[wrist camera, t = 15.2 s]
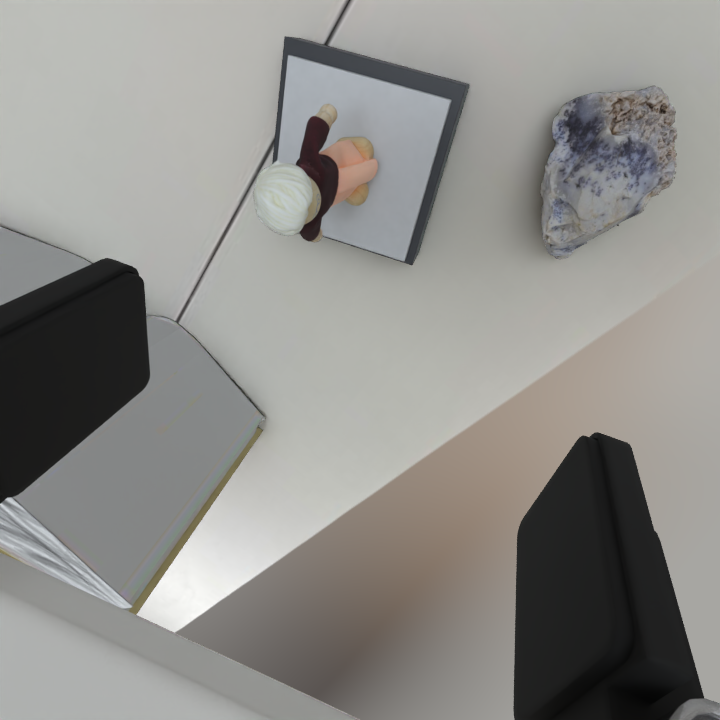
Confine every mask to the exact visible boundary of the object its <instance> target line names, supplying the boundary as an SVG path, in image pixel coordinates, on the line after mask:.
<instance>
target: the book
mask: <svg viewBox="0 0 720 720" xmlns="http://www.w3.org/2000/svg"><path fill="white" fill-rule="evenodd" d="M91 264H93V263H91V262H89V261H87V260H86V259H84V258H82V257H79V256H77V255H75V254H72V253H70V252H67V251H65V250H62V249H60V248H57V247H54V246H52V245H49V244H46V243H43V242H41V241H38V240H35V239H33V238H30V237H27V236H25V235H22V234H19V233H17V232H14V231H11V230H9V229H6V228H4V227H1V226H0V305H3V304H5V303H7V302H9V301H11V300H14V299H16V298H18V297H20V296H22V295H25V294H27V293H29V292H31V291H33V290H36V289H38V288H40V287H42V286H44V285H47V284H49V283H51V282H53V281H55V280H58V279H60V278H62V277H64V276H66V275H69V274H71V273H73V272H75V271H77V270H80V269H82V268H84V267H86V266H88V265H91ZM146 320H147V335H148V349H149V364H150V379H149V382H148V384H147V386H146V387H145V389H144V390H143V391H141V392H140V393H139V394H138V395H137V396H136V397H134V398H133V399H132V400H131V401H130V402H128V403H127V404H126V405H125V406H124V407H122V408H121V409H120V410H119V411H118V412H117V413H115V414H114V415H113V416H112V417H111V418H109V419H108V420H107V421H106V422H105V423H103V424H102V425H101V426H100V427H99V428H98V429H96V430H95V431H94V432H93V433H92V434H90V435H89V436H88V437H87V438H86V439H85V440H83V441H82V442H81V443H80V444H79V445H77V446H76V447H75V448H74V449H73V450H71V451H70V452H69V453H68V454H67V455H66V456H64V457H63V458H62V459H61V460H60V461H58V462H57V463H56V464H55V465H54V466H52V467H51V468H50V469H49V470H48V471H47V472H45V473H44V474H43V475H42V476H41V477H39V478H38V479H37V480H36V481H35V482H33V483H32V484H31V485H30V486H29V487H28V488H26V489H25V490H24V491H23V492H21V493H20V494H19V495H17V496H15V497H10V498H7V499H5V500H4V501H3V502H2V503H1V504H0V553H2V554H5V555H7V556H9V557H11V558H13V559H16V560H18V561H20V562H22V563H24V564H26V565H29V566H31V567H33V568H35V569H37V570H40V571H42V572H44V573H46V574H48V575H51V576H53V577H55V578H57V579H59V580H61V581H64V582H66V583H68V584H70V585H72V586H74V587H76V588H79V589H81V590H83V591H85V592H87V593H89V594H92V595H94V596H96V597H98V598H100V599H102V600H105V601H107V602H109V603H111V604H113V605H115V606H118V607H120V608H122V609H124V610H126V611H128V612H131V613H133V614H135V615H136V614H137V613H138V611H139V610H140V608H141V607H142V606H143V604H144V603H145V601H146V600H147V598H148V597H149V595H150V594H151V592H152V591H153V590H154V588H155V587H156V585H157V584H158V582H159V581H160V579H161V578H162V576H163V575H164V574H165V572H166V571H167V569H168V568H169V566H170V565H171V563H172V562H173V560H174V559H175V558H176V556H177V555H178V553H179V552H180V550H181V549H182V547H183V546H184V545H185V543H186V542H187V540H188V539H189V537H190V536H191V534H192V533H193V531H194V530H195V529H196V527H197V526H198V524H199V523H200V521H201V520H202V518H203V517H204V515H205V514H206V513H207V511H208V510H209V508H210V507H211V505H212V504H213V502H214V501H215V499H216V498H217V497H218V495H219V494H220V492H221V491H222V489H223V488H224V486H225V485H226V483H227V482H228V481H229V479H230V478H231V476H232V475H233V473H234V472H235V470H236V469H237V468H238V466H239V465H240V463H241V462H242V460H243V459H244V457H245V456H246V454H247V453H248V452H249V450H250V449H251V447H252V446H253V444H254V443H255V441H256V440H257V438H258V437H259V436H260V434H261V433H262V431H263V430H261V429H260V428H258V425H259V424H260V422H261V421H264V420H266V418H265V417H264V416H263V415H262V414H261V413H260V412H259V411H258V409H257V408H256V407H255V406H254V405H253V404H252V403H251V402H250V400H249V399H248V398H247V397H246V396H245V395H244V394H243V393H242V391H241V390H240V389H239V388H238V387H237V386H236V384H235V383H234V382H233V381H232V380H231V379H230V377H229V376H228V375H227V374H226V373H225V372H224V371H223V369H222V368H221V367H220V366H219V365H218V364H217V362H216V361H215V360H214V359H213V358H212V357H211V355H210V354H209V353H208V352H207V351H206V350H205V349H204V348H203V347H202V345H201V344H200V343H199V342H198V341H197V340H196V339H195V338H194V337H193V336H192V335H191V334H190V333H189V332H187V331H186V330H185V329H184V328H183V327H182V326H180V325H179V324H178V323H176V322H174V321H173V320H171V319H168V318H165V317H160V316H148V317H146Z"/></svg>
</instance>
